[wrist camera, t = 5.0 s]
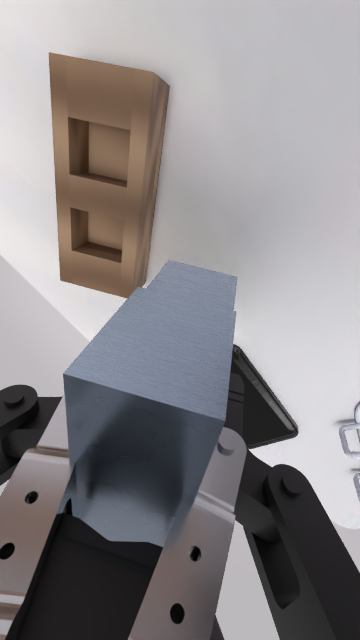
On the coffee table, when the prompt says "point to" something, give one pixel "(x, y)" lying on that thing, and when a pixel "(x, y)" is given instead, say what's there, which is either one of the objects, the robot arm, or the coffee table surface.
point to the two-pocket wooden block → (105, 169)
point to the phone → (260, 407)
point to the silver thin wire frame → (354, 455)
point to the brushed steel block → (151, 402)
